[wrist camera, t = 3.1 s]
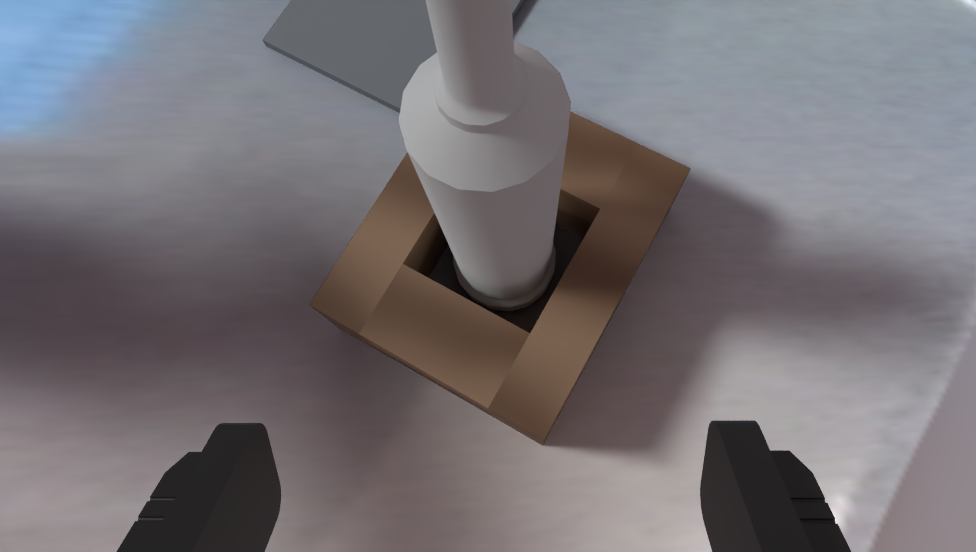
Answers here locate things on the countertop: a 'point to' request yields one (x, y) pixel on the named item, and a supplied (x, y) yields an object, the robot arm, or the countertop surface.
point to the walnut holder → (478, 332)
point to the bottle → (489, 149)
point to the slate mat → (359, 42)
